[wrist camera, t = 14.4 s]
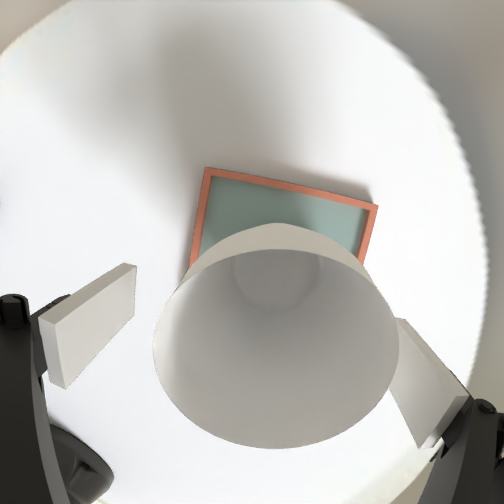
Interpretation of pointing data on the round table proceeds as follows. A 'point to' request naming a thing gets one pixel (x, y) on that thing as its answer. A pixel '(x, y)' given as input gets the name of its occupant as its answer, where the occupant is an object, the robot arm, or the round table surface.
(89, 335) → the robot arm
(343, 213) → the print frame
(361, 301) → the cup
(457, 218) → the round table surface
